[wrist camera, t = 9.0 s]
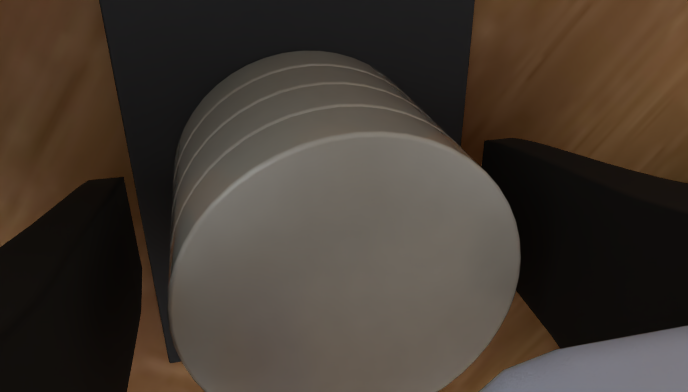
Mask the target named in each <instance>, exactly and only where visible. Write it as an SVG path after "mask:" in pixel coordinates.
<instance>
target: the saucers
mask: <svg viewBox="0 0 688 392" xmlns="http://www.w3.org/2000/svg"><path fill="white" fill-rule="evenodd" d="M520 262H521V251H520V238H519V233H518V228H517V224H516V220H515V217H514V214H513V212H512V209H511V207H510V204H509V202H508V201H507V199H506V197H505V196H504V194H503V192H502V191H501V189H500V187H499V186H498V185H497V184H496V182H495V181H494V180H493V179H492V178H491V177H490V175H489V174H488V173H487V172H486V171H485V170H484V169H483V168H482V167H481V166H480V165H479V164H478V163H477V162H476V161H475V160H474V159H473V158H472V157H470V156H469V155H468V154H467V153H466V152H465V151H464V150H463V149H462V148H461V147H460V146H459V145H458V144H457V143H456V142H455V141H454V140H453V139H452V138H451V137H450V136H449V135H448V134H447V133H446V132H445V131H444V130H442V129H441V128H440V127H439V126H438V125H437V124H436V123H435V122H434V121H433V120H432V119H431V118H430V117H429V116H428V115H427V114H426V113H425V112H424V111H423V110H422V109H421V108H420V107H419V106H418V105H417V104H416V103H414V102H413V101H412V100H411V99H410V98H409V97H408V96H407V95H406V94H405V93H404V92H403V91H402V90H401V89H400V88H399V87H398V86H397V85H396V84H395V83H394V82H392V81H391V80H390V79H389V78H388V77H386V76H385V75H384V74H383V73H381V72H380V71H378V70H376V69H375V68H373V67H372V66H370V65H368V64H366V63H364V62H361V61H359V60H357V59H355V58H352V57H348V56H345V55H341V54H338V53H331V52H324V51H295V52H287V53H281V54H277V55H274V56H270V57H266V58H263V59H261V60H258V61H256V62H253V63H251V64H248V65H246V66H245V67H243V68H241V69H239V70H238V71H236V72H234V73H232V74H231V75H229V76H228V77H227V78H225V79H224V80H223V81H222V82H220V83H219V84H218V85H216V86H215V87H214V88H213V89H212V90H211V91H210V92H209V93H208V94H207V95H206V96H205V97H204V98H203V100H202V101H201V102H200V104H199V105H198V106H197V108H196V109H195V110H194V112H193V113H192V115H191V117H190V118H189V120H188V122H187V124H186V126H185V127H184V130H183V132H182V135H181V138H180V140H179V143H178V147H177V151H176V156H175V161H174V175H173V195H172V215H171V236H170V256H169V277H168V297H167V313H168V323H169V329H170V333H171V337H172V340H173V344H174V347H175V349H176V351H177V353H178V355H179V357H180V360H181V362H182V364H183V365H184V366H185V368H186V369H187V371H188V372H189V374H190V375H191V376H192V378H193V379H194V381H195V382H196V383H197V384H198V385H199V386H200V387H201V388H202V389H203V390H204V391H205V392H438V391H440V390H441V389H443V388H444V387H446V386H447V385H448V384H449V383H451V382H452V381H453V380H454V379H456V378H457V377H458V376H459V375H461V374H462V373H463V372H464V371H465V370H466V369H467V368H468V367H469V366H470V365H471V364H472V363H473V362H474V361H475V360H476V359H477V358H478V357H479V356H480V354H481V353H482V352H483V351H484V350H485V348H486V347H487V346H488V345H489V343H490V342H491V340H492V339H493V337H494V336H495V334H496V333H497V332H498V330H499V329H500V327H501V325H502V323H503V321H504V319H505V317H506V315H507V313H508V311H509V309H510V306H511V303H512V301H513V298H514V295H515V292H516V288H517V283H518V279H519V273H520Z"/></svg>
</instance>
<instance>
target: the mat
mask: <svg viewBox="0 0 688 392" xmlns="http://www.w3.org/2000/svg"><path fill="white" fill-rule="evenodd" d="M99 2H100V7H101V12H102V17H103V23H104V28H105V33H106V38H107V43H108V48H109V54H110V59H111V64H112V69H113V74H114V79H115V85H116V90H117V95H118V100H119V105H120V110H121V115H122V121H123V126H124V131H125V136H126V141H127V146H128V152H129V157H130V162H131V167H132V172H133V177H134V183H135V188H136V193H137V198H138V203H139V208H140V214H141V219H142V224H143V229H144V234H145V239H146V245H147V250H148V255H149V260H150V265H151V270H152V276H153V281H154V286H155V291H156V296H157V301H158V307H159V312H160V317H161V322H162V327H163V332H164V338H165V343H166V348H167V353H168V358H169V362H170V363H174V362H180V361H181V360H180V357H179V355H178V353H177V351H176V349H175V347H174V344H173V340H172V337H171V333H170V329H169V323H168V313H167V297H168V277H169V256H170V236H171V215H172V195H173V175H174V161H175V156H176V151H177V147H178V143H179V140H180V138H181V135H182V132H183V130H184V127H185V126H186V124H187V122H188V120H189V118H190V117H191V115H192V113H193V112H194V110H195V109H196V108H197V106H198V105H199V104H200V102H201V101H202V100H203V98H204V97H205V96H206V95H207V94H208V93H209V92H210V91H211V90H212V89H213V88H214V87H215V86H216V85H218V84H219V83H220V82H222V81H223V80H224V79H225V78H227V77H228V76H229V75H231V74H232V73H234V72H236V71H238V70H239V69H241V68H243V67H245V66H246V65H248V64H251V63H253V62H256V61H258V60H261V59H263V58H266V57H270V56H274V55H277V54H281V53H287V52H295V51H324V52H331V53H338V54H341V55H345V56H348V57H352V58H355V59H357V60H359V61H361V62H364V63H366V64H368V65H370V66H372V67H373V68H375V69H376V70H378V71H380V72H381V73H383V74H384V75H385V76H386V77H388V78H389V79H390V80H391V81H392V82H394V83H395V84H396V85H397V86H398V87H399V88H400V89H401V90H402V91H403V92H404V93H405V94H406V95H407V96H408V97H409V98H410V99H411V100H412V101H413V102H414V103H416V104H417V105H418V106H419V107H420V108H421V109H422V110H423V111H424V112H425V113H426V114H427V115H428V116H429V117H430V118H431V119H432V120H433V121H434V122H435V123H436V124H437V125H438V126H439V127H440V128H441V129H442V130H444V131H445V132H446V133H447V134H448V135H449V136H450V137H451V138H452V139H453V140H454V141H455V142H456V143H457V144H458V145H459V146H460V147H461V137H462V127H463V117H464V106H465V96H466V86H467V75H468V65H469V55H470V44H471V34H472V24H473V13H474V3H475V0H99Z"/></svg>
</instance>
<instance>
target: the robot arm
mask: <svg viewBox="0 0 688 392" xmlns="http://www.w3.org/2000/svg"><path fill="white" fill-rule="evenodd" d="M482 168H483V169H484V170H485V171H486V172H487V173H488V174H489V175H490V177H491V178H492V179H493V180H494V181H495V182H496V184H497V185H498V186H499V187H500V189H501V191H502V192H503V194H504V196H505V197H506V199H507V201H508V202H509V204H510V207H511V209H512V212H513V214H514V217H515V220H516V224H517V228H518V233H519V238H520V251H521V262H520V273H519V279H518V283H517V288H516V291H517V292H518V293H519V295H520V296H521V297H522V299H523V300H524V301H525V302H526V304H527V305H528V306H529V308H530V309H531V310H532V311H533V313H534V314H535V315H536V317H537V318H538V319H539V320H540V322H541V323H542V324H543V325H544V327H545V328H546V329H547V331H548V332H549V333H550V334H551V336H552V337H553V339H554V340H555V341H556V343H557V344H558V346H559V347H560V348H561V349H556V350H554V351H551V352H548V353H546V354H543V355H541V356H538V357H536V358H533V359H530V360H528V361H525V362H523V363H520V364H518V365H515V366H512V367H510V368H507V369H505V370H503V371H502V372H501V373H499V374H498V375H497V376H496V377H495V378H494V379H493V380H491V381H490V382H489V383H488V384H487V385H486V386H485V387H483V388H482V389H481V390H480V391H479V392H688V184H687V183H682V182H677V181H673V180H668V179H664V178H659V177H655V176H651V175H648V174H644V173H640V172H636V171H632V170H629V169H625V168H621V167H618V166H614V165H611V164H607V163H604V162H601V161H597V160H594V159H591V158H587V157H584V156H581V155H578V154H574V153H571V152H568V151H564V150H561V149H558V148H554V147H551V146H548V145H544V144H540V143H536V142H532V141H528V140H523V139H516V138H506V139H496V140H486V141H485V142H484V150H483V159H482ZM141 297H142V266H141V261H140V256H139V251H138V246H137V241H136V236H135V231H134V226H133V221H132V216H131V211H130V206H129V202H128V197H127V192H126V187H125V182H124V177H118V178H108V179H98V180H89V181H87V182H85V183H83V184H82V185H81V186H79V187H78V188H77V189H75V190H74V191H73V192H72V193H70V194H69V195H68V196H67V197H65V198H64V199H63V200H62V201H60V202H59V203H58V204H57V205H56V206H54V207H53V208H52V209H51V210H49V211H48V212H47V213H46V214H44V215H43V216H42V217H41V218H39V219H38V220H37V221H36V222H34V223H33V224H32V225H30V226H29V227H28V228H26V229H25V230H24V231H22V232H21V233H19V234H18V235H17V236H15V237H14V238H12V239H11V240H10V241H8V242H7V243H5V244H4V245H3V246H1V247H0V392H127V388H128V382H129V377H130V371H131V366H132V360H133V355H134V349H135V344H136V338H137V332H138V326H139V321H140V314H141Z"/></svg>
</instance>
